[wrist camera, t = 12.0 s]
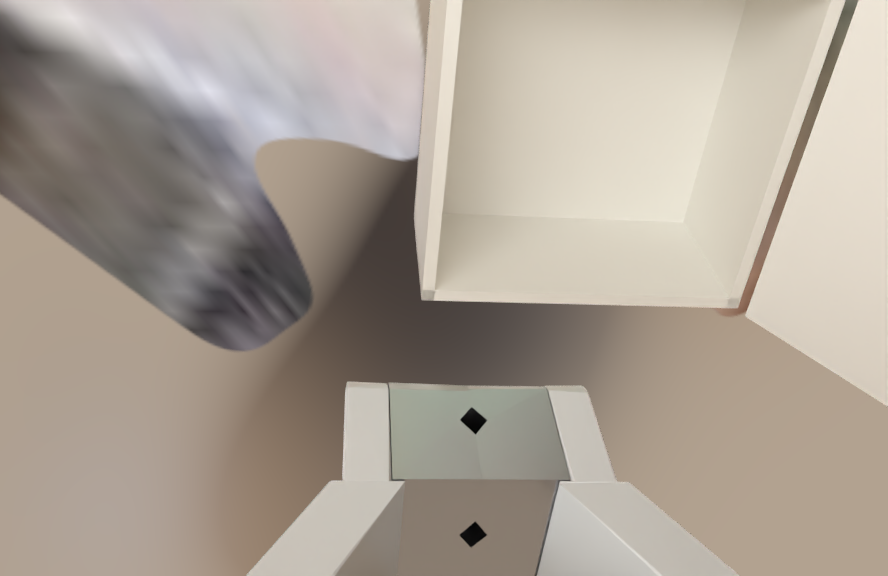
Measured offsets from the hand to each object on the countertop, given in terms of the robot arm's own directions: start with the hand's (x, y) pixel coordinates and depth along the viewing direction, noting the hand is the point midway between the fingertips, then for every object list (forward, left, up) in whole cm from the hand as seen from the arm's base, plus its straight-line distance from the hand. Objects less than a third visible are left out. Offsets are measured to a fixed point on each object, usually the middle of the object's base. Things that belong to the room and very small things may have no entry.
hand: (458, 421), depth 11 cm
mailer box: (+8, +10, -33) cm, 35 cm away
